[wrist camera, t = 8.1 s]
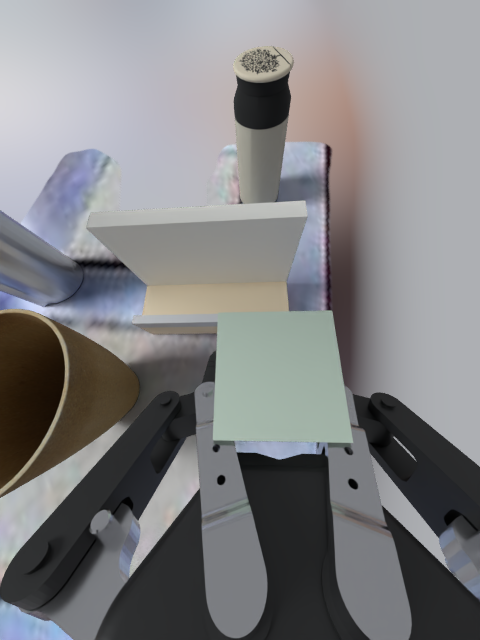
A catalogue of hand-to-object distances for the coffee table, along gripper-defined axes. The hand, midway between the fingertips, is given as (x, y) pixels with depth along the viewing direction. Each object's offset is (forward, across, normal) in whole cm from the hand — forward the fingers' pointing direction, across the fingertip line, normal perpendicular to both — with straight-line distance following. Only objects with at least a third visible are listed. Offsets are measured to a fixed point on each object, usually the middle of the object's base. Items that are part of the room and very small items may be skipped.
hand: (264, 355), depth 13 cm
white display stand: (+19, +6, +5) cm, 21 cm away
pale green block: (+2, 0, +4) cm, 5 cm away
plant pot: (+10, +22, +14) cm, 28 cm away
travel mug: (+38, -1, -13) cm, 40 cm away
